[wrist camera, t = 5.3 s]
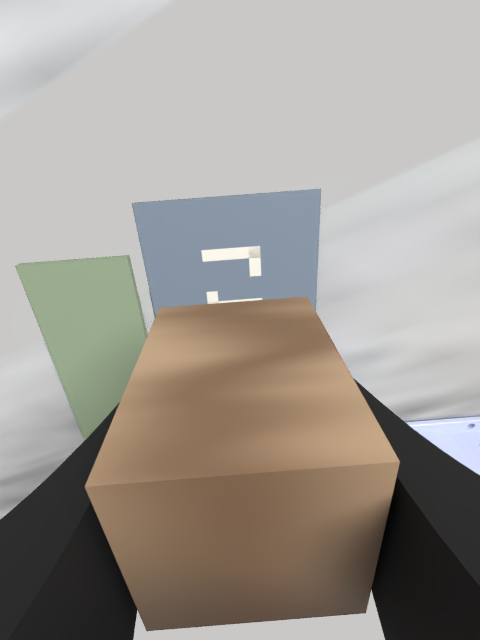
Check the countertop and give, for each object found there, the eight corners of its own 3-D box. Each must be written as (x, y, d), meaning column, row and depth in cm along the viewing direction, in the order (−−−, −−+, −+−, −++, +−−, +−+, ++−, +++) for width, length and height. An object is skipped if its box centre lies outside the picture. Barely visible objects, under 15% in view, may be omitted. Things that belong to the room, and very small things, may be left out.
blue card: (320, 188, 16) (321, 188, 16) (313, 347, 20) (313, 349, 20) (132, 203, 16) (131, 203, 16) (164, 359, 20) (164, 360, 20)
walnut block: (307, 296, 10) (399, 461, 5) (303, 409, 12) (365, 613, 7) (159, 307, 10) (85, 486, 5) (181, 418, 12) (146, 630, 7)
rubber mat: (129, 255, 17) (127, 257, 17) (168, 427, 22) (167, 431, 22) (19, 263, 17) (15, 266, 16) (85, 433, 22) (83, 438, 22)
